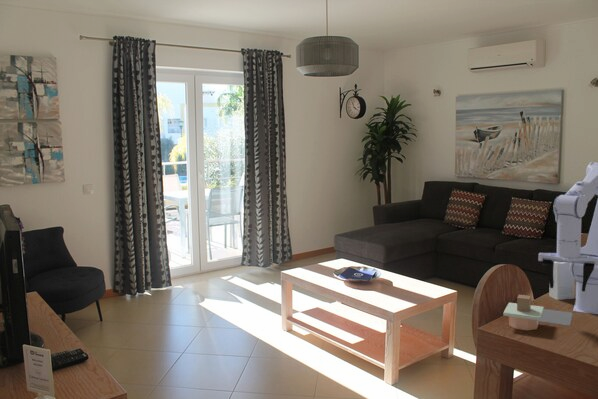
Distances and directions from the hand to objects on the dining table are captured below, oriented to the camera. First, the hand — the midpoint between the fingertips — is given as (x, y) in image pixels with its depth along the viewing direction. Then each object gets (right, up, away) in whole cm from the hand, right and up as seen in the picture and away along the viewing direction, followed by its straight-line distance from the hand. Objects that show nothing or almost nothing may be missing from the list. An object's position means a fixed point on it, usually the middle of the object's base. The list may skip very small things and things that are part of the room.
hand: (567, 288), depth 142 cm
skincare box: (+9, -7, +21) cm, 24 cm away
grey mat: (-2, -9, +6) cm, 11 cm away
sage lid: (-12, -6, 0) cm, 14 cm away
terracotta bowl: (-12, -10, 0) cm, 16 cm away
